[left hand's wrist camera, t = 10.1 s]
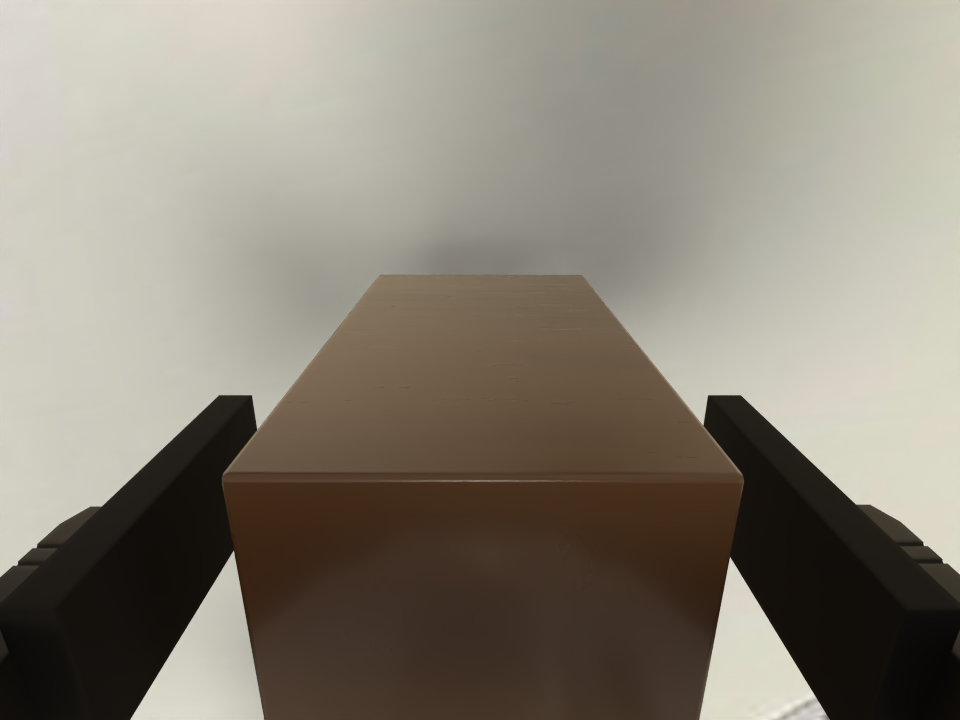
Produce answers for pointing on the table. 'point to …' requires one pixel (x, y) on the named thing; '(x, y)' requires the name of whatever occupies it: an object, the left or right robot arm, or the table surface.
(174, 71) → the table surface
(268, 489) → the bar
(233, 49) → the table surface
